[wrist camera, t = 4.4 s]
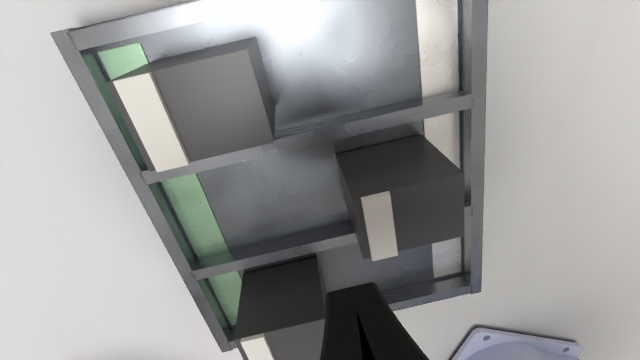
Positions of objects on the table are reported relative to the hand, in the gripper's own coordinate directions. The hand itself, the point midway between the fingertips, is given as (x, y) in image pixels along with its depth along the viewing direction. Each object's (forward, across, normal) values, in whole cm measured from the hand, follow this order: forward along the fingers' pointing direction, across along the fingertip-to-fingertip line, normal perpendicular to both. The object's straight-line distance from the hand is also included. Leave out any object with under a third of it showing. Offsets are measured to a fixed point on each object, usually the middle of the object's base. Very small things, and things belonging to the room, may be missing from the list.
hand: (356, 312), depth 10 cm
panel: (+8, 0, 0) cm, 9 cm away
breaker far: (+7, +3, +5) cm, 10 cm away
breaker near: (+7, +3, -6) cm, 10 cm away
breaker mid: (+7, -3, 0) cm, 8 cm away
